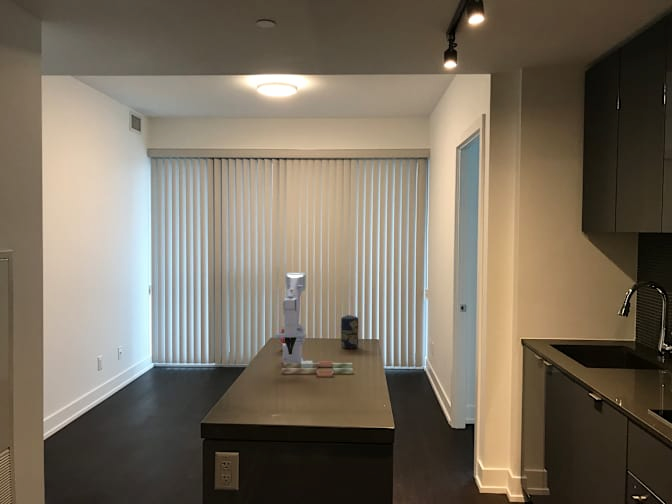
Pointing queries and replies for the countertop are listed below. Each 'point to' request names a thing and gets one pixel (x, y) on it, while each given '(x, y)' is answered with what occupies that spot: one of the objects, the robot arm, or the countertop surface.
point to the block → (306, 364)
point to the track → (296, 369)
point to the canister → (349, 331)
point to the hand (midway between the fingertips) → (290, 354)
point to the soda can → (282, 339)
